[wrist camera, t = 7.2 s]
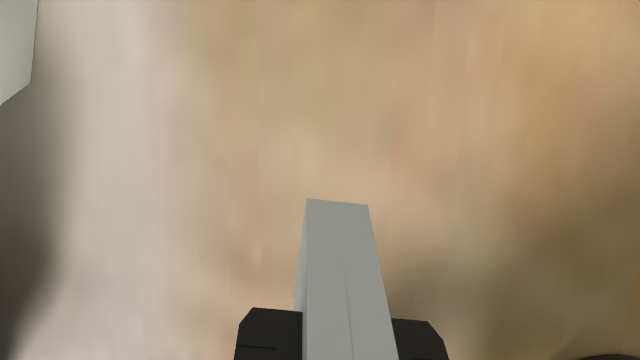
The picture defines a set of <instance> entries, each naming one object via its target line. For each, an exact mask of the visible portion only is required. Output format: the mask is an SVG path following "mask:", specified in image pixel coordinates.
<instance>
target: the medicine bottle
mask: <svg viewBox="0 0 640 360" xmlns="http://www.w3.org/2000/svg"><path fill="white" fill-rule="evenodd" d="M37 8H38V0H0V105H1V104H2V103H4V102H5V101H6V100H8V99H9V98H10V97H12V96H13V95H15V94H16V93H17V92H19V91H20V90H21V89H23V88H24V87H26V86H27V85H28V84H29V83H30V81H31V73H32V62H33V51H34V40H35V30H36V19H37Z"/></svg>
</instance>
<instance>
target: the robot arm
mask: <svg viewBox="0 0 640 360" xmlns="http://www.w3.org/2000/svg"><path fill="white" fill-rule="evenodd" d="M234 360H449V358H448V354H447V351H446V348H445V345H444V342H443V340H442V338H441V337H440V336H439V335H438V334H437V332H436V331H435V330H434V329H433V328H432V326H431V325H430V324H429V323H428V322H427V321H416V320H405V319H394V318H390V313H389V308H388V303H387V298H386V293H385V288H384V283H383V279H382V274H381V269H380V264H379V259H378V254H377V249H376V244H375V239H374V234H373V229H372V224H371V219H370V214H369V210H368V205H364V204H354V203H345V202H335V201H326V200H317V199H307V201H306V208H305V215H304V223H303V230H302V237H301V245H300V252H299V259H298V266H297V274H296V281H295V288H294V311H288V310H277V309H266V308H255V307H253V308H252V309H251V310H250V311H249V313H248V314H247V315H246V316H245V318H244V319H243V320H242V321H241V323H240V324H239V329H238V336H237V342H236V349H235V354H234ZM583 360H640V359H638V358H634V357H628V356H617V355H611V356H598V357H592V358H587V359H583Z"/></svg>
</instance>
